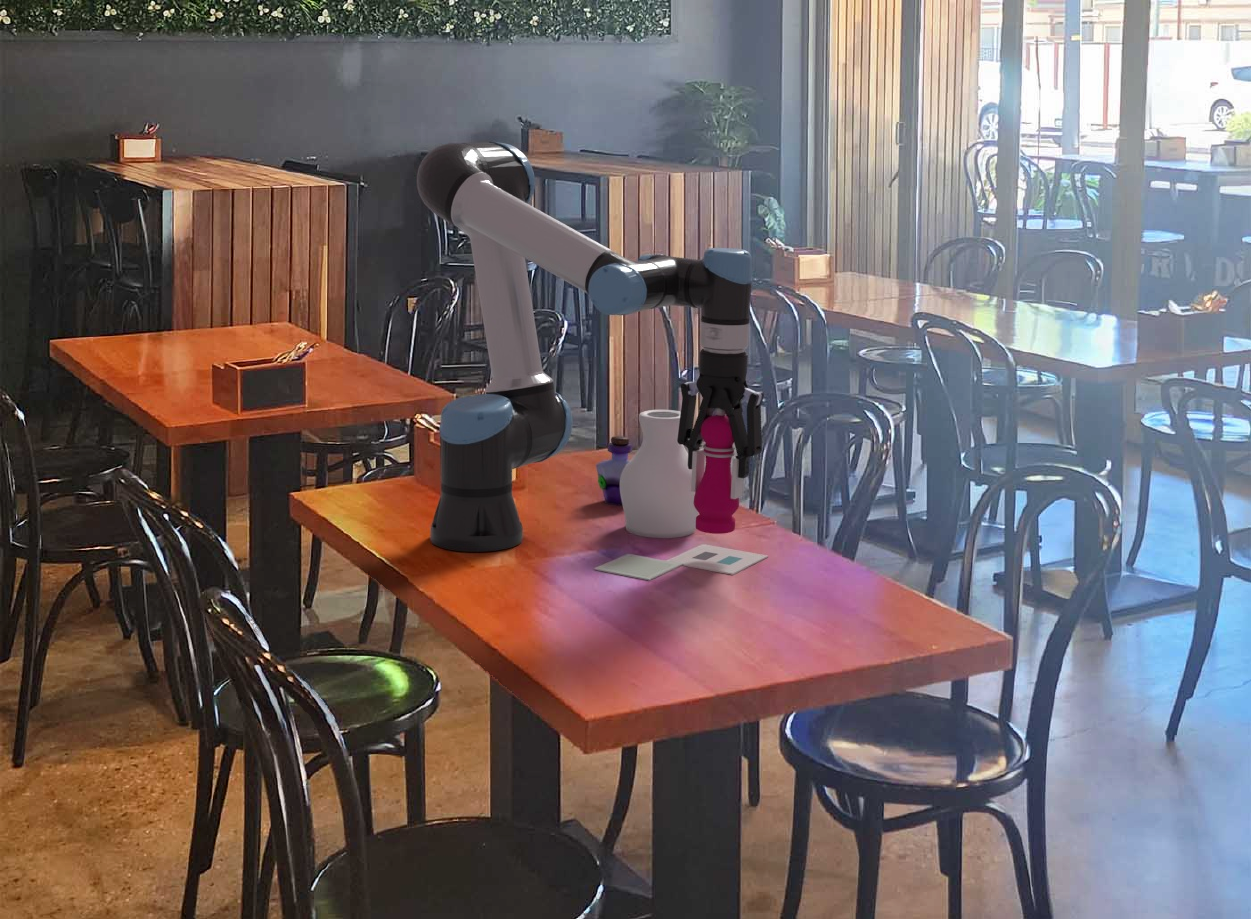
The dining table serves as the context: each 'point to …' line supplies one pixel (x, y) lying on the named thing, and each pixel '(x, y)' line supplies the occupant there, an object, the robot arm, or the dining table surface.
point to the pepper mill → (716, 477)
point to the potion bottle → (613, 469)
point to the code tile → (717, 559)
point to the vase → (659, 481)
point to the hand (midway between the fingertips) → (716, 493)
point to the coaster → (638, 567)
